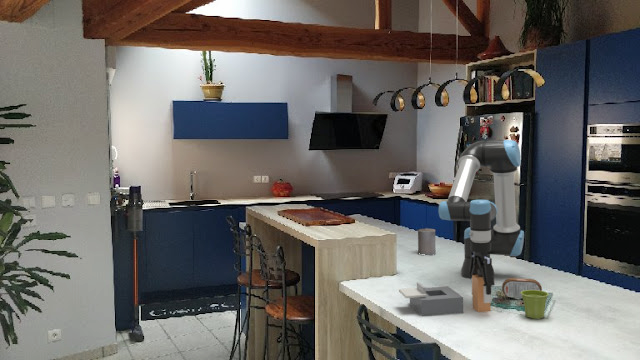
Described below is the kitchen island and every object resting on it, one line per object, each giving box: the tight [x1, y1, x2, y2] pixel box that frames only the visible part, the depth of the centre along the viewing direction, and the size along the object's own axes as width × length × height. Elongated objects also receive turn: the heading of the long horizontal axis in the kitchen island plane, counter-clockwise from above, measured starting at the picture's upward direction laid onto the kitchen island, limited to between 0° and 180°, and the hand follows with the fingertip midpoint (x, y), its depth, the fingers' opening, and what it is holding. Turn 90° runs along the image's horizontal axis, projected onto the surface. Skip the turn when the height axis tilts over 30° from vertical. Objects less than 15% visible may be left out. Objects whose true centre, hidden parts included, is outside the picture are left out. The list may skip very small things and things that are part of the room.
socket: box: [409, 285, 464, 317], centre depth 218 cm, size 16×16×6 cm
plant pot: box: [521, 290, 550, 320], centre depth 204 cm, size 9×9×9 cm
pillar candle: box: [417, 227, 436, 256], centre depth 317 cm, size 10×10×15 cm
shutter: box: [398, 282, 427, 299], centre depth 216 cm, size 8×10×3 cm
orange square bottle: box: [471, 269, 492, 313], centre depth 214 cm, size 5×5×16 cm
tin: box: [501, 277, 543, 298], centre depth 226 cm, size 15×3×8 cm, turn 71°
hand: (481, 298), depth 214 cm, fingers open, 10 cm apart
